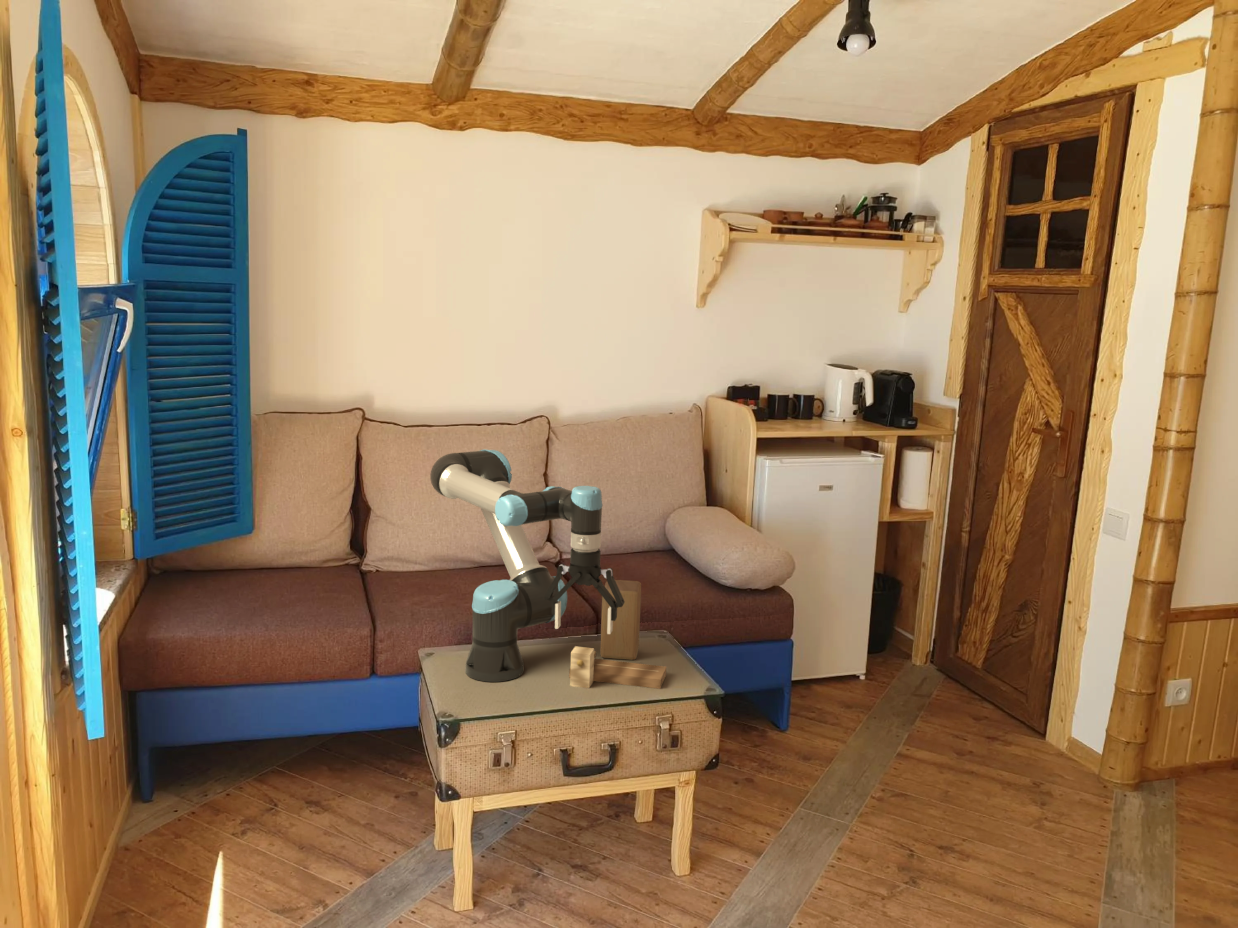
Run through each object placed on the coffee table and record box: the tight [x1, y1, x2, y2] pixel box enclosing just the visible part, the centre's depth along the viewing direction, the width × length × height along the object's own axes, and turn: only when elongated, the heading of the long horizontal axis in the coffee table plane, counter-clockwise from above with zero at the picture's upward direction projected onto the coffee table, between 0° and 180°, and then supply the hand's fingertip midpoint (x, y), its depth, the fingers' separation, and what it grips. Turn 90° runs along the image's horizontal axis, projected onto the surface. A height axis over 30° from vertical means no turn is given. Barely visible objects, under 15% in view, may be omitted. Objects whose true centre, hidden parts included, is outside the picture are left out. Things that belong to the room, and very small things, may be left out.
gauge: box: [569, 645, 597, 689], centre depth 255 cm, size 5×14×9 cm, turn 168°
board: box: [568, 658, 667, 690], centre depth 257 cm, size 24×9×2 cm, turn 78°
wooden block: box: [599, 579, 642, 661], centre depth 272 cm, size 10×10×20 cm
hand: (583, 629), depth 249 cm, fingers open, 13 cm apart
